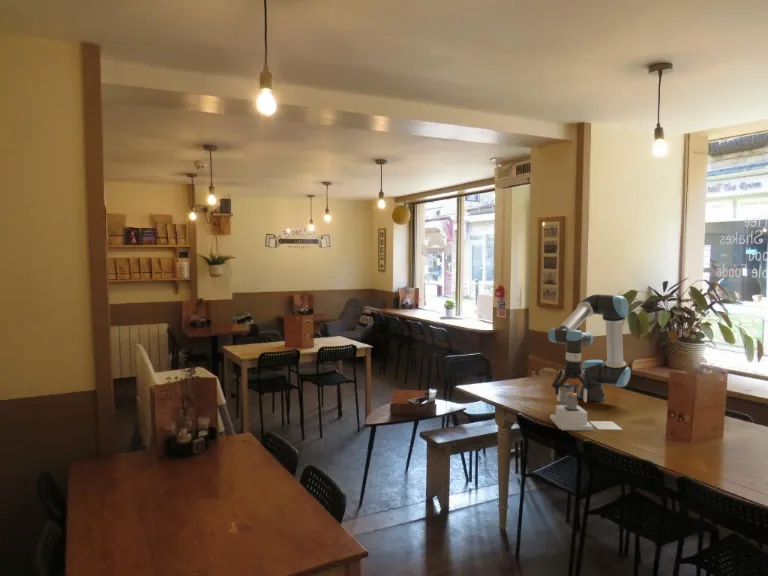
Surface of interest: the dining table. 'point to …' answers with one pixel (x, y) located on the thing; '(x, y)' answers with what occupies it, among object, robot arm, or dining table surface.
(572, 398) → the copper top metal cylinder
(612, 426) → the pad
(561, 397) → the coffee box
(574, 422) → the housing
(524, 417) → the dining table surface
